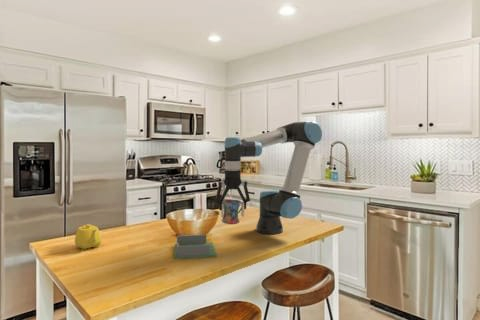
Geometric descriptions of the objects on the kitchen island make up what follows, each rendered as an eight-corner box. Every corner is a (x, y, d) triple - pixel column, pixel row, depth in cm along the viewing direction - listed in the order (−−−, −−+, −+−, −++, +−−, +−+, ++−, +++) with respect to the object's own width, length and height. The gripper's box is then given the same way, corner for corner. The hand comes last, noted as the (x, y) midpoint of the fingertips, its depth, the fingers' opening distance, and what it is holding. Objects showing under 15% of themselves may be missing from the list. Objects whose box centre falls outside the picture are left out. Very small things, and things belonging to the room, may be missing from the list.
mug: (229, 226, 148) (230, 203, 148) (216, 222, 155) (217, 200, 155) (248, 223, 156) (249, 201, 156) (235, 219, 163) (236, 198, 163)
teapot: (107, 249, 150) (107, 226, 149) (82, 255, 143) (81, 231, 142) (94, 240, 163) (94, 219, 163) (70, 245, 156) (70, 223, 155)
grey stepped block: (212, 243, 160) (212, 233, 160) (216, 256, 142) (216, 245, 142) (174, 245, 157) (174, 235, 156) (174, 258, 139) (174, 247, 139)
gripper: (253, 168, 159) (253, 213, 161) (208, 169, 155) (209, 215, 157) (256, 170, 152) (256, 217, 153) (210, 170, 148) (210, 219, 149)
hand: (232, 216), depth 155 cm, fingers open, 9 cm apart
